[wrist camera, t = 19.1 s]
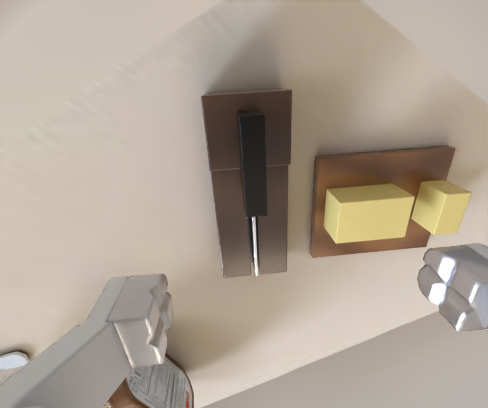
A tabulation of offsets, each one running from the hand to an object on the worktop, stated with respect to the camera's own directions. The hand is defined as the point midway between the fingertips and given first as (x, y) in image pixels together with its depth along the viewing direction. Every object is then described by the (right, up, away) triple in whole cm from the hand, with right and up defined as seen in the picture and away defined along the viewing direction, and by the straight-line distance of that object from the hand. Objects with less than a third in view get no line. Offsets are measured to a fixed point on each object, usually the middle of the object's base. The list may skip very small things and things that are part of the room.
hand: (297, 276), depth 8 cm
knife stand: (-1, +4, +19) cm, 19 cm away
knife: (-1, +3, +18) cm, 19 cm away
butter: (+11, +2, +20) cm, 22 cm away
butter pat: (+18, +3, +20) cm, 27 cm away
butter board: (+13, +2, +21) cm, 25 cm away
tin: (-14, -20, +29) cm, 38 cm away
